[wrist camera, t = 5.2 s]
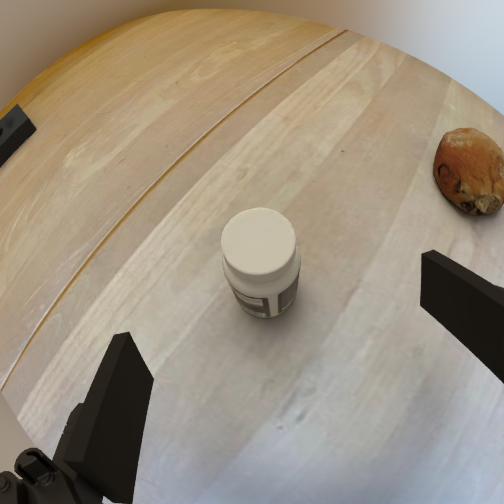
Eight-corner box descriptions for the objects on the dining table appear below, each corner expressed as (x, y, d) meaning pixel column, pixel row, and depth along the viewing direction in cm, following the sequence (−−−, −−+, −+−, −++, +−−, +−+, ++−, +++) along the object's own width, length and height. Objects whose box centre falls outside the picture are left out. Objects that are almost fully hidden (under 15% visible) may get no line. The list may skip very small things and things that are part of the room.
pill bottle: (288, 255, 24) (292, 194, 17) (302, 312, 22) (315, 271, 15) (230, 267, 24) (209, 210, 17) (240, 324, 22) (220, 290, 15)
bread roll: (488, 209, 29) (520, 161, 23) (488, 242, 22) (533, 180, 17) (431, 162, 32) (458, 111, 26) (414, 179, 26) (451, 112, 20)
